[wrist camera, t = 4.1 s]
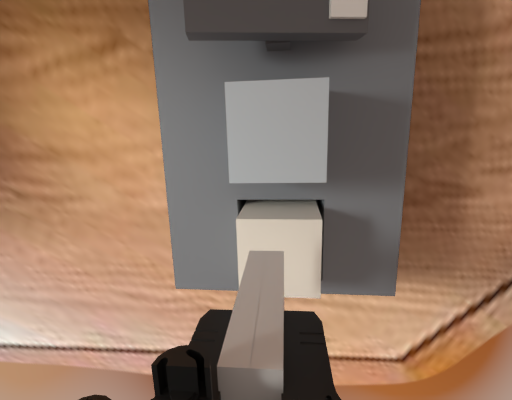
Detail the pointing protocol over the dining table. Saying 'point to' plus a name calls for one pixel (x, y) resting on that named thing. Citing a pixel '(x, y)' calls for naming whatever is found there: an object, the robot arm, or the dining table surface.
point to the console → (338, 150)
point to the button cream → (284, 241)
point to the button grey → (277, 130)
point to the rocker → (276, 20)
